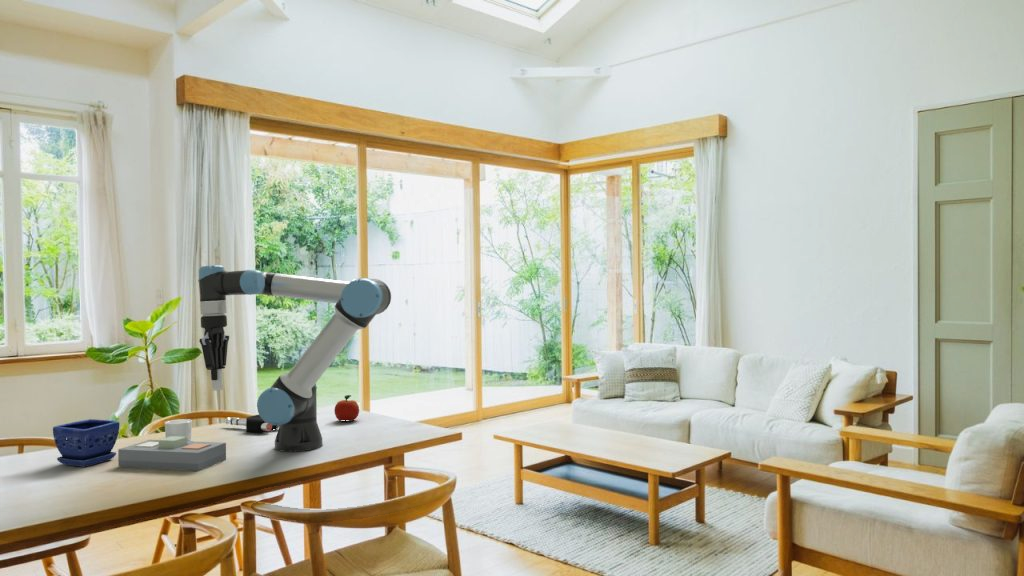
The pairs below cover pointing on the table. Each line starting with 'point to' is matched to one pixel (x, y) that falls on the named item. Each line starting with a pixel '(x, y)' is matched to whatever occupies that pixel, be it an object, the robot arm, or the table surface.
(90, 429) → the flower pot
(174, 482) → the table surface
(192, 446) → the key terracotta
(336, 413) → the fruit
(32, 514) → the table surface
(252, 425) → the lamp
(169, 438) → the key sage
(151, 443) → the key offwhite
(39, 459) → the table surface
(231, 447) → the table surface
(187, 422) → the white cup
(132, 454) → the key panel
